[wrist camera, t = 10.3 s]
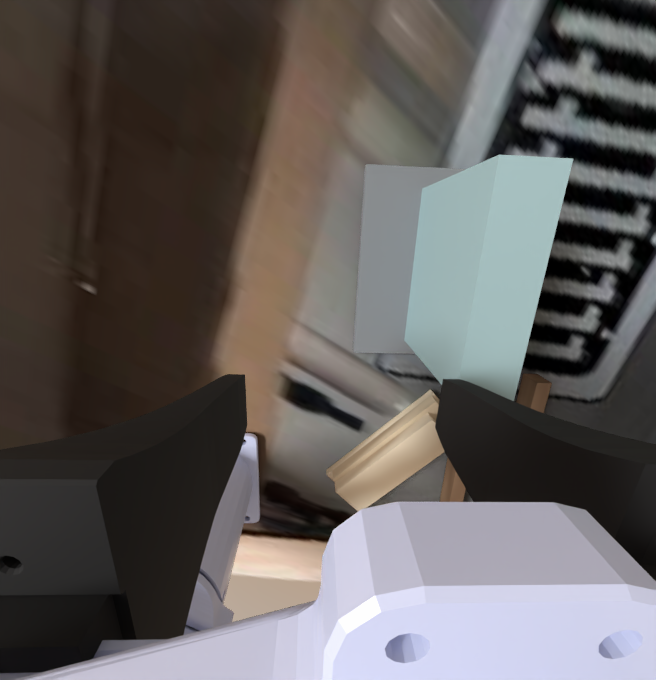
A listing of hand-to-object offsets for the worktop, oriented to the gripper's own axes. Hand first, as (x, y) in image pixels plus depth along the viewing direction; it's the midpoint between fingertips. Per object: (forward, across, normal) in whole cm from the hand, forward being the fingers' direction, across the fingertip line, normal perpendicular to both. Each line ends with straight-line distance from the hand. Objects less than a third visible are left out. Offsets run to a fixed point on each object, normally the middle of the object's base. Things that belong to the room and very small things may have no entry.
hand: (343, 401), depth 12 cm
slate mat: (+10, -6, -4) cm, 12 cm away
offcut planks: (+10, -5, +9) cm, 14 cm away
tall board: (+9, -6, -4) cm, 12 cm away
